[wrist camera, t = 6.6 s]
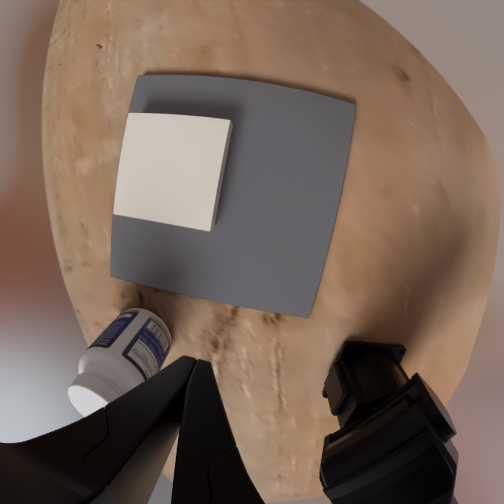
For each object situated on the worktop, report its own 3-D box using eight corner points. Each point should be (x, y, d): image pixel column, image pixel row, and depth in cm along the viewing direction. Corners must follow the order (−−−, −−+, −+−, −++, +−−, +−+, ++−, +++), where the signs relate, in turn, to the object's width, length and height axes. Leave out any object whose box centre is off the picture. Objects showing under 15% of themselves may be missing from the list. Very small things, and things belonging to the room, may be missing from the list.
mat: (353, 106, 16) (356, 104, 16) (307, 314, 20) (308, 318, 20) (141, 77, 16) (138, 75, 16) (113, 274, 20) (110, 276, 20)
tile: (230, 120, 15) (128, 112, 15) (210, 231, 17) (113, 214, 17) (233, 125, 17) (139, 117, 17) (215, 226, 18) (125, 210, 18)
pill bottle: (117, 344, 22) (64, 411, 13) (120, 297, 21) (52, 360, 12) (168, 365, 23) (130, 445, 13) (178, 319, 21) (130, 401, 12)
